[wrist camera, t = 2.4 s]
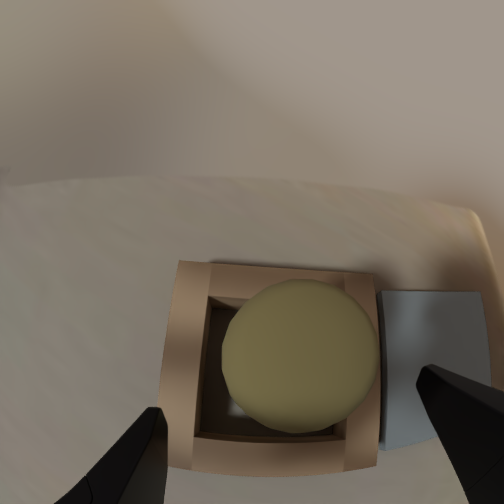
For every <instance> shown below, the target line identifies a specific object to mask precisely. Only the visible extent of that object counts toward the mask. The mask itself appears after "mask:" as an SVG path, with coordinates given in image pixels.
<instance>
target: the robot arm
mask: <svg viewBox="0 0 504 504" xmlns="http://www.w3.org/2000/svg"><path fill="white" fill-rule="evenodd" d="M416 389H417V391H418V394H419V396H420V398H421V401H422V403H423V405H424V408H425V410H426V413H427V415H428V418H429V420H430V422H431V424H432V425H433V427H434V429H435V431H436V433H437V435H438V437H439V439H440V441H441V443H442V445H443V447H444V449H445V451H446V453H447V455H448V457H449V459H450V461H451V463H452V465H453V467H454V470H455V472H456V474H457V476H458V478H459V481H460V483H461V485H462V487H463V490H464V492H465V495H466V497H467V500H468V502H469V504H504V392H503V391H500V390H498V389H495V388H492V387H490V386H487V385H485V384H482V383H479V382H477V381H474V380H472V379H469V378H467V377H464V376H461V375H459V374H456V373H454V372H451V371H449V370H447V369H444V368H442V367H439V366H437V365H434V364H428V365H426V366H423V367H422V368H421V371H420V373H419V376H418V378H417V381H416ZM167 470H168V424H167V421H166V418H165V416H164V413H163V411H162V409H161V408H160V407H148V408H147V409H146V410H145V411H144V412H143V413H142V414H141V415H140V416H139V417H138V419H137V420H136V421H135V422H134V423H133V424H132V425H131V426H130V427H129V429H128V430H127V431H126V432H125V433H124V434H123V435H122V436H121V437H120V438H119V440H118V441H117V442H116V443H115V444H114V445H113V446H112V447H111V448H110V449H109V450H108V451H107V453H106V454H105V455H104V456H103V457H102V458H101V459H100V460H99V461H98V462H97V463H96V464H95V465H94V466H93V468H92V469H91V470H90V471H89V472H88V473H87V474H86V476H84V477H83V478H82V479H81V480H80V481H79V482H78V483H77V484H76V485H75V486H74V487H73V488H72V489H71V490H70V491H69V492H68V493H66V494H65V495H64V496H63V497H62V498H60V499H59V500H58V501H57V502H55V503H54V504H164V495H165V486H166V478H167Z"/></svg>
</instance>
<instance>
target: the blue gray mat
mask: <svg viewBox="0 0 504 504" xmlns="http://www.w3.org/2000/svg"><path fill="white" fill-rule="evenodd" d="M377 299H378V308H379V320H380V333H381V350H382V423H381V440H380V450H383V451H387V450H391V449H396V448H400V447H404V446H407V445H411V444H415V443H418V442H422V441H425V440H428V439H431V438H434V437H437V436H438V435H437V433H436V431H435V429H434V427H433V425H432V424H431V422H430V420H429V418H428V415H427V413H426V410H425V408H424V405H423V403H422V401H421V398H420V396H419V394H418V391H417V389H416V381H417V378H418V376H419V373H420V371H421V368H422V367H423V366H426V365H428V364H434V365H437V366H439V367H442V368H444V369H447V370H449V371H451V372H454V373H456V374H459V375H461V376H464V377H467V378H469V379H472V380H474V381H477V382H479V383H482V384H485V385H487V386H490V387H491V365H490V352H489V342H488V334H487V326H486V320H485V314H484V308H483V303H482V298H481V293H480V292H431V291H383V290H381V291H380V292H379V293H378V294H377Z"/></svg>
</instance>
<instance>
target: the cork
mask: <svg viewBox="0 0 504 504" xmlns="http://www.w3.org/2000/svg"><path fill="white" fill-rule="evenodd" d="M379 359H380V353H379V345H378V337H377V333H376V331H375V328H374V326H373V324H372V322H371V319H370V317H369V315H368V313H367V312H366V311H365V310H364V309H363V308H362V306H361V305H360V304H359V303H358V302H357V301H356V300H355V298H354V297H352V296H351V295H349V294H348V293H346V292H344V291H343V290H341V289H340V288H338V287H337V286H335V285H332V284H329V283H325V282H322V281H318V280H314V279H289V280H286V281H283V282H280V283H277V284H273V285H270V286H267V287H266V288H265V289H263V290H262V291H260V292H259V293H257V294H256V295H254V296H253V297H252V298H250V299H249V300H247V301H246V302H245V303H244V304H243V306H242V307H241V308H240V310H239V311H238V312H237V314H236V315H235V316H234V317H233V319H232V320H231V321H230V324H229V326H228V329H227V332H226V335H225V338H224V341H223V344H222V372H223V375H224V378H225V383H226V386H227V389H228V391H229V394H230V396H231V397H232V399H233V400H234V401H235V402H236V404H237V405H238V406H239V407H240V408H242V410H243V411H244V412H245V413H246V414H247V415H248V416H250V417H251V418H253V419H255V420H256V421H258V422H259V423H261V424H263V425H264V426H266V427H268V428H271V429H275V430H280V431H284V432H289V433H304V432H312V431H320V430H322V429H324V428H327V427H329V426H331V425H333V424H335V423H337V422H339V421H341V420H343V419H345V418H347V417H348V416H349V415H350V414H351V413H352V412H353V411H354V410H356V409H357V408H358V407H359V406H360V405H361V404H362V403H363V402H364V401H365V399H366V397H367V395H368V393H369V391H370V390H371V388H372V386H373V384H374V382H375V380H376V376H377V370H378V365H379Z"/></svg>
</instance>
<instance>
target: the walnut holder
mask: <svg viewBox="0 0 504 504" xmlns="http://www.w3.org/2000/svg"><path fill="white" fill-rule="evenodd" d="M289 279H314V280H318V281H322V282H325V283H329V284H332V285H335V286H337V287H338V288H340V289H341V290H343V291H344V292H346V293H348V294H349V295H351V296H352V297H354V298H355V300H356V301H357V302H358V303H359V304H360V305H361V306H362V308H363V309H364V310H365V311H366V312H367V313H368V315H369V317H370V319H371V322H372V324H373V326H374V328H375V331H376V333H377V337H378V345H379V330H378V317H377V306H376V297H375V288H374V280H373V274H366V273H349V272H333V271H317V270H302V269H287V268H272V267H258V266H245V265H231V264H218V263H206V262H193V261H181V260H179V263H178V268H177V273H176V278H175V284H174V289H173V295H172V300H171V306H170V312H169V318H168V325H167V331H166V338H165V345H164V352H163V360H162V368H161V376H160V385H159V395H158V405H157V407H160V408H161V409H162V411H163V413H164V416H165V418H166V421H167V424H168V466H170V467H175V468H180V469H186V470H192V471H199V472H206V473H214V474H224V475H236V476H255V477H289V476H308V475H320V474H329V473H338V472H345V471H351V470H357V469H363V468H368V467H373V466H376V462H377V453H378V441H379V425H380V359H379V365H378V370H377V376H376V380H375V382H374V384H373V386H372V388H371V390H370V391H369V393H368V395H367V397H366V399H365V401H364V402H363V403H362V404H361V405H360V406H359V407H358V408H357V409H356V410H354V411H353V412H352V413H351V414H350V415H349V416H348V417H347V418H345V419H343V420H341V421H339V422H337V423H335V424H333V434H332V435H319V436H297V437H265V436H243V435H230V434H219V433H210V432H202V431H200V423H201V410H202V398H203V387H204V376H205V365H206V355H207V346H208V337H209V327H210V319H211V310H212V308H219V309H231V310H240V308H241V307H242V306H243V304H244V303H245V302H246V301H247V300H249V299H250V298H252V297H253V296H254V295H256V294H257V293H259V292H260V291H262V290H263V289H265V288H266V287H267V286H270V285H273V284H277V283H280V282H283V281H286V280H289ZM379 353H380V347H379Z"/></svg>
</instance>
